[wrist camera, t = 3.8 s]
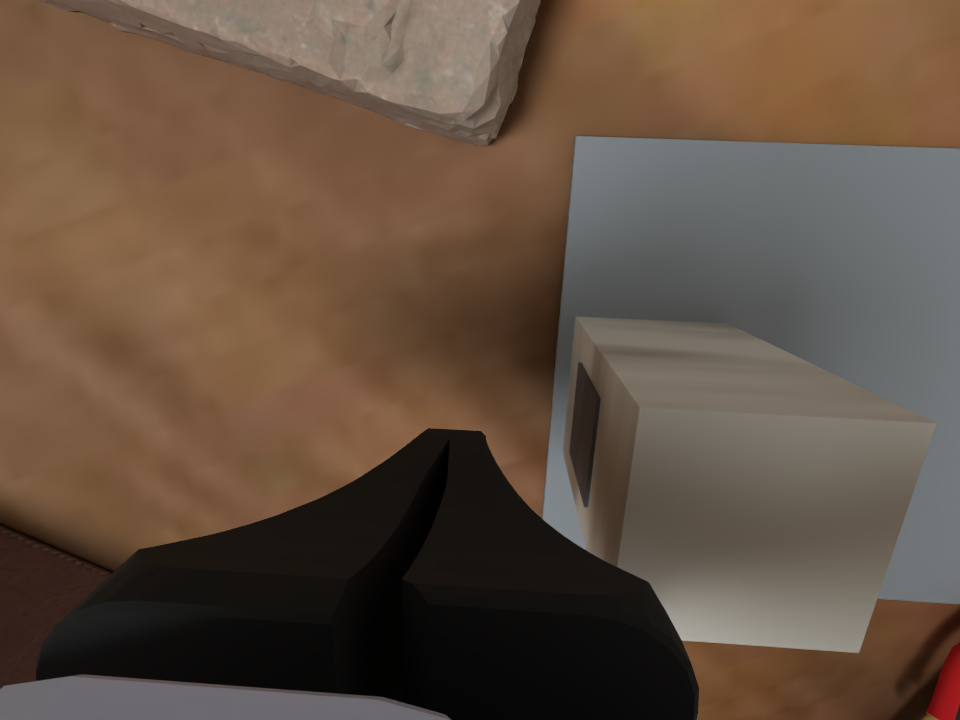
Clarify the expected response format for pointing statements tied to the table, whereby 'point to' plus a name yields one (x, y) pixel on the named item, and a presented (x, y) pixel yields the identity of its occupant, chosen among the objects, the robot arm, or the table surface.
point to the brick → (357, 50)
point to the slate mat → (785, 288)
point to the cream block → (737, 480)
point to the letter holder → (36, 599)
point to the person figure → (947, 690)
